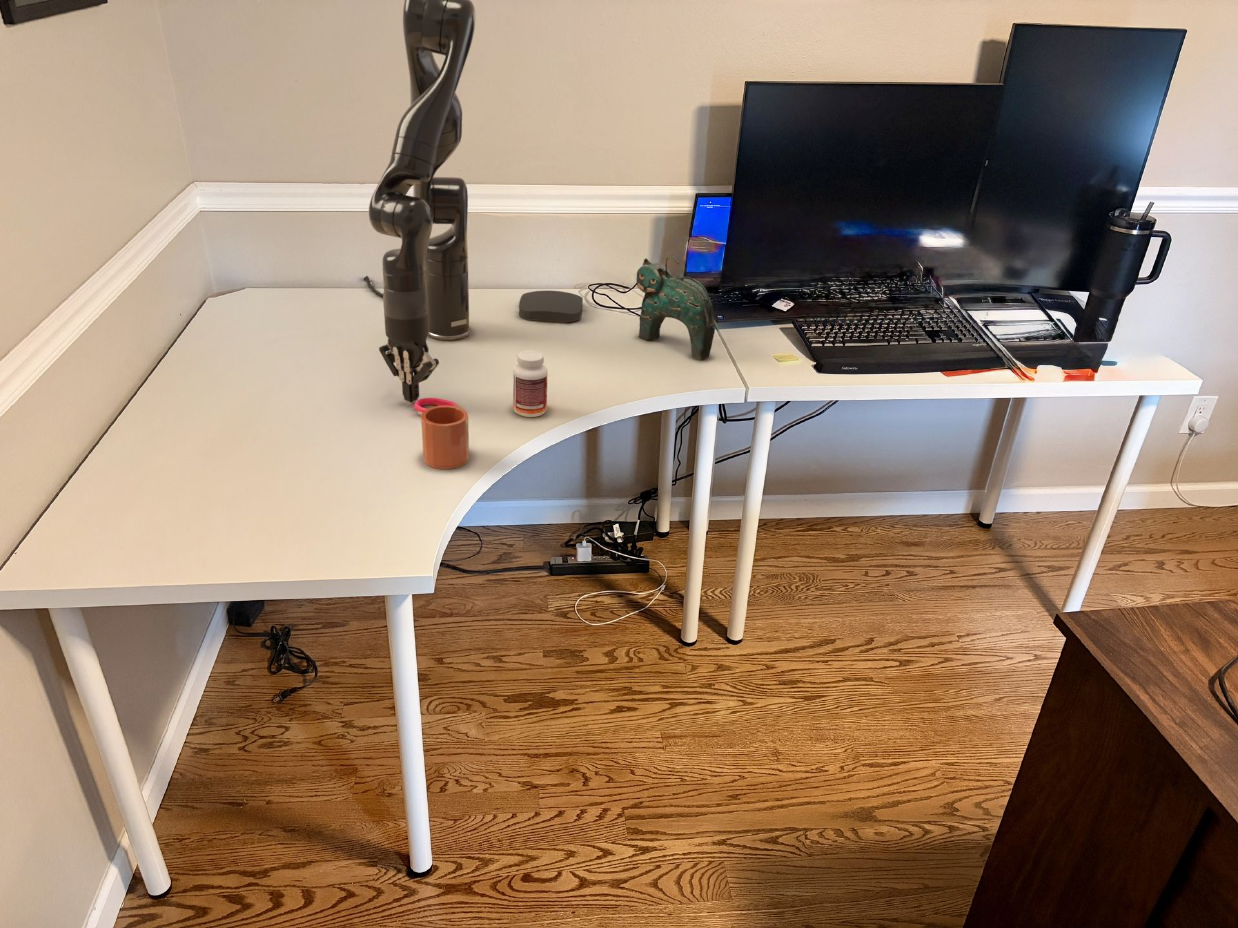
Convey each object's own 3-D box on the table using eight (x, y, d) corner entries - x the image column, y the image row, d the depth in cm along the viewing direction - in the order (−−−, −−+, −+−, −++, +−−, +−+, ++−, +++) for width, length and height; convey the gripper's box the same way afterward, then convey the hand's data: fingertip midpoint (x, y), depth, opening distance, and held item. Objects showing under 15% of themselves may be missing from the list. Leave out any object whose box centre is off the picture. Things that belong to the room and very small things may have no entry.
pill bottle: (552, 414, 167) (554, 358, 161) (523, 421, 164) (523, 364, 158) (536, 401, 171) (537, 346, 166) (507, 407, 168) (507, 352, 163)
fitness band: (408, 413, 164) (407, 405, 163) (426, 400, 169) (425, 393, 168) (447, 422, 161) (446, 415, 161) (464, 410, 166) (463, 402, 165)
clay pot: (414, 460, 149) (411, 416, 145) (444, 443, 155) (442, 401, 151) (448, 474, 146) (446, 430, 142) (478, 456, 151) (477, 413, 147)
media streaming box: (580, 324, 208) (581, 312, 206) (516, 320, 208) (516, 308, 206) (583, 303, 221) (583, 291, 219) (523, 299, 220) (523, 287, 219)
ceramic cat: (629, 336, 203) (636, 248, 193) (648, 330, 207) (655, 243, 198) (699, 364, 192) (709, 272, 182) (717, 356, 196) (728, 266, 186)
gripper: (449, 313, 159) (452, 403, 167) (393, 296, 164) (399, 384, 173) (419, 325, 153) (423, 417, 161) (363, 307, 159) (370, 396, 167)
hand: (411, 399), depth 167 cm, fingers closed
